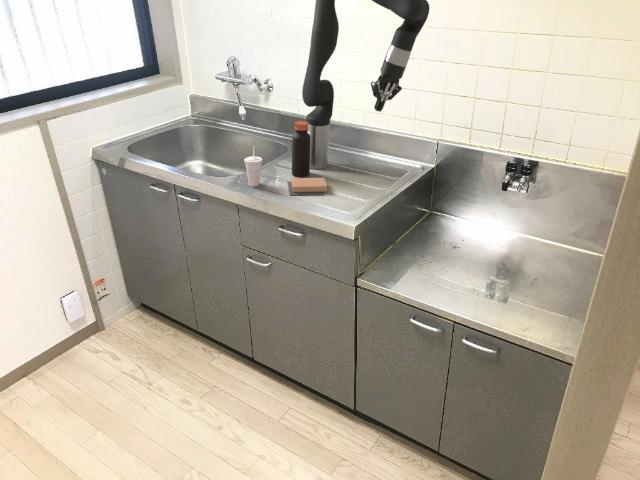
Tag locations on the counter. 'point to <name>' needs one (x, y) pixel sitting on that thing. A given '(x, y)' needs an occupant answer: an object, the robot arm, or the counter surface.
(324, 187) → the tile
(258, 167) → the smoothie
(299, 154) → the bottle
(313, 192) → the mat
